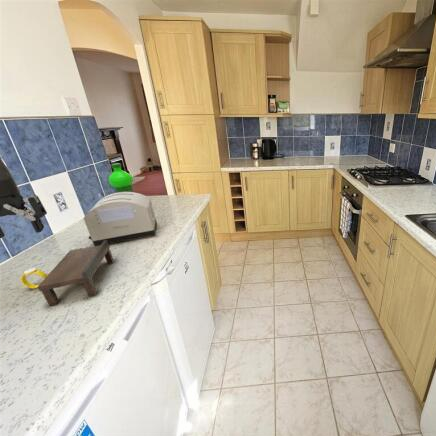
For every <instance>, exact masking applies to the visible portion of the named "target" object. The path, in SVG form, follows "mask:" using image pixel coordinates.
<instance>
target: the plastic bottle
mask: <svg viewBox="0 0 436 436" xmlns="http://www.w3.org/2000/svg"><path fill="white" fill-rule="evenodd" d="M110 167H111V169H113V172H112V173H111V174H110V175H109V176H108V183H109V185H110V186H111V187H113V189H114V191H115V192H114V193H118V192H134V188H133V186H132V183H133V180H134V178H133V176H132V175H131V174H130V173H128V172H127V171H124V170H123V169H122V167H123V165H122V162H115V163H111V164H110ZM134 193H135V192H134Z"/></svg>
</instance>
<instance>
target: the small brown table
mask: <svg viewBox="0 0 436 436" xmlns="http://www.w3.org/2000/svg"><path fill="white" fill-rule="evenodd" d="M110 248H111V247H110V244H108V241H107V240H105V241H103V243H102V244H101V245H99V246H94V245H93V246H88V247H82V248H77V249H70V250H69V251H68V252H67V253H66V254H65V255H64V256H63V258H61V260H59V262H58V263H57V264H56V265H55V267H53V269H52V270H51V271H50V272H49V274H47V277H46V278H45V279H44V278H43V280H42V281H41V282H40V283H39V284H38V285H39V286H38V288H37V290H38V291H39V292H41V293H42V295H43V297H44V299H45V300H46V302H47V304H48V306H49V307H52V306H56V305H58V304H59V302H60V299H59V297H58V295H57V293H56V291H55V289H58V288H62V287H68V286H72V285H76V284H81V283H82V285H83V288H84V289H85V292H86V293H87V296H88V297H89V298H92V297H95V296H97V294H98V291H97V288H96V285H95V283H94V281H93V279H92V278H93V277H94V274H95V273H96V271H97V270H98V268H99V266H100V265H101V263H102V261H103V260H104V259H105V261H106V264H107V265H109V264H114V262H115V260H114V256H113V255H112V251H111V249H110Z"/></svg>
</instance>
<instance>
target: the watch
mask: <svg viewBox="0 0 436 436" xmlns="http://www.w3.org/2000/svg"><path fill="white" fill-rule="evenodd" d="M33 274H35V275H38V276H40V277H42V279H43V280H44V279H45V278H46V277H47V276H48V274H47V273H45V272H44V271H42V270H40V269H37V268H36V267H33V268H32V267H31V268H29V269H27V270H25V271H23V273H22V275H21V276H20V282H21V283H22V285H23V286H25V288H28V289H29V288H30V289H33V290H34V289H38V286H39V285H40V284H34V283H31V282H29V281H28V279H27V278H26V277H27V276H31V275H33Z"/></svg>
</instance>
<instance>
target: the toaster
mask: <svg viewBox="0 0 436 436" xmlns="http://www.w3.org/2000/svg"><path fill="white" fill-rule="evenodd" d="M98 198H99V199H100V200H98V201H97V202H96V203H95V204H94V205H93V206H92V208H91V209H90V210H88V212H87V213H86V214H85V216H84V217H83V221H84V224H85V226H86V229H87V231H88V234H89V236H88V240H91V241H92V243H93V246H99V245H101V244H102V243H103V241H105V240H107V241H108V244H109V245H110V244H115V243H120V242H125V241H131V240H132V241H133V240H137V239H142V238H148V237H154V236H156V233H157V227H158V226H157V225H158V221H157V216H156V214H155V210H154V207H153V206H154V205H153V203H152V200H151V198H150V197H149V196H148V195H145V194H142V193H138V192H118V193H116V192H114V193H111V194H108V195H106V196H102V194H101V193H98Z"/></svg>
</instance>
